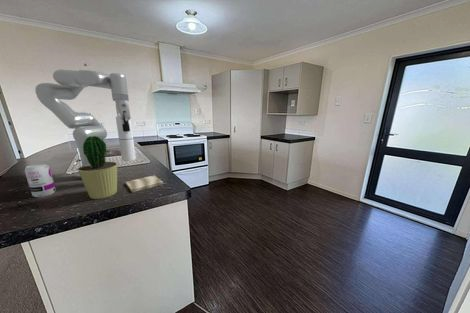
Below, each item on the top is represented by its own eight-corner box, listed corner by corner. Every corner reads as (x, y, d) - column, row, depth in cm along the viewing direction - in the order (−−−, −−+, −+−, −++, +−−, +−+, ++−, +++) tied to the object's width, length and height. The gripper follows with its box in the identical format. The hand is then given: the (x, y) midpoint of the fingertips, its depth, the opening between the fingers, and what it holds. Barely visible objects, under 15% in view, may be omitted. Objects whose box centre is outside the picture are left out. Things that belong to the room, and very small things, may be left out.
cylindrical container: (125, 161, 100) (118, 117, 94) (119, 159, 104) (113, 116, 98) (137, 159, 106) (132, 117, 99) (132, 157, 110) (127, 116, 104)
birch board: (132, 192, 91) (131, 189, 90) (125, 184, 101) (125, 181, 100) (163, 184, 101) (162, 181, 101) (154, 177, 111) (154, 175, 111)
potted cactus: (93, 204, 79) (79, 138, 71) (78, 196, 86) (63, 135, 79) (127, 191, 92) (118, 134, 84) (112, 185, 99) (102, 132, 92)
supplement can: (55, 189, 94) (47, 162, 90) (57, 193, 89) (49, 165, 85) (32, 194, 88) (23, 165, 84) (33, 199, 83) (23, 169, 79)
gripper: (132, 98, 93) (136, 131, 97) (124, 99, 105) (128, 128, 109) (115, 97, 88) (120, 132, 92) (109, 98, 100) (114, 129, 104)
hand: (125, 130), depth 101 cm, fingers closed on cylindrical container, 7 cm apart
